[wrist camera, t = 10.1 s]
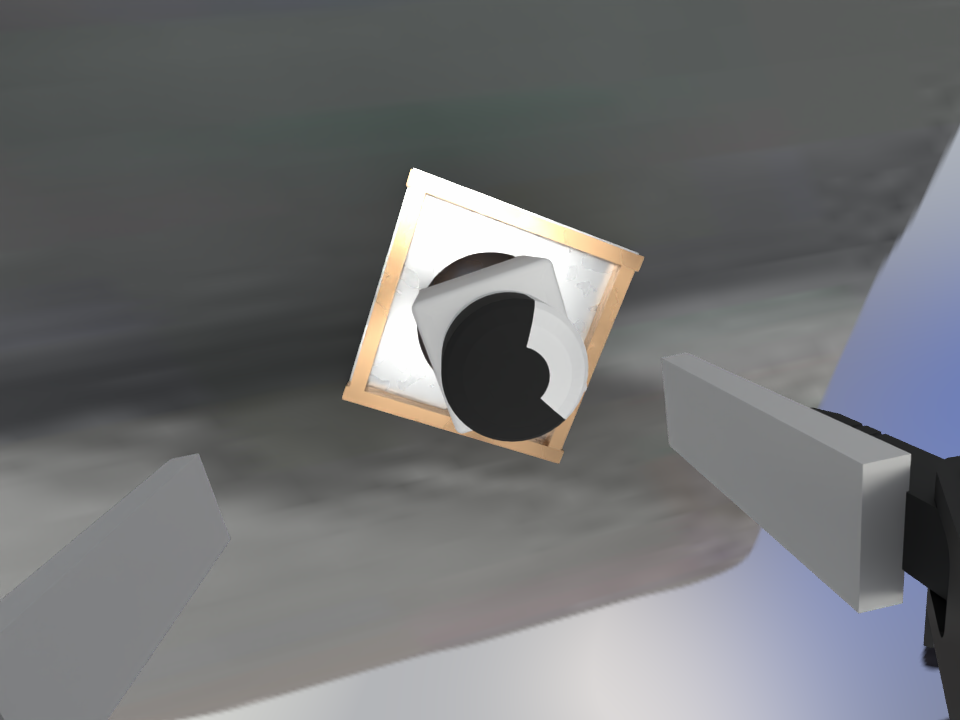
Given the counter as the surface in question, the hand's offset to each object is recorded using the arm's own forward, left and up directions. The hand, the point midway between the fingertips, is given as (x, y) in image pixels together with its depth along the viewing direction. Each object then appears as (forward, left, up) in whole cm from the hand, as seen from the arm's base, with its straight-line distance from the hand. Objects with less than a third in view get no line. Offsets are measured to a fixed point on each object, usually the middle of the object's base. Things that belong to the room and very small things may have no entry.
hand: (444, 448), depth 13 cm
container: (+3, +1, -20) cm, 20 cm away
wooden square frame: (+3, +1, -21) cm, 21 cm away
